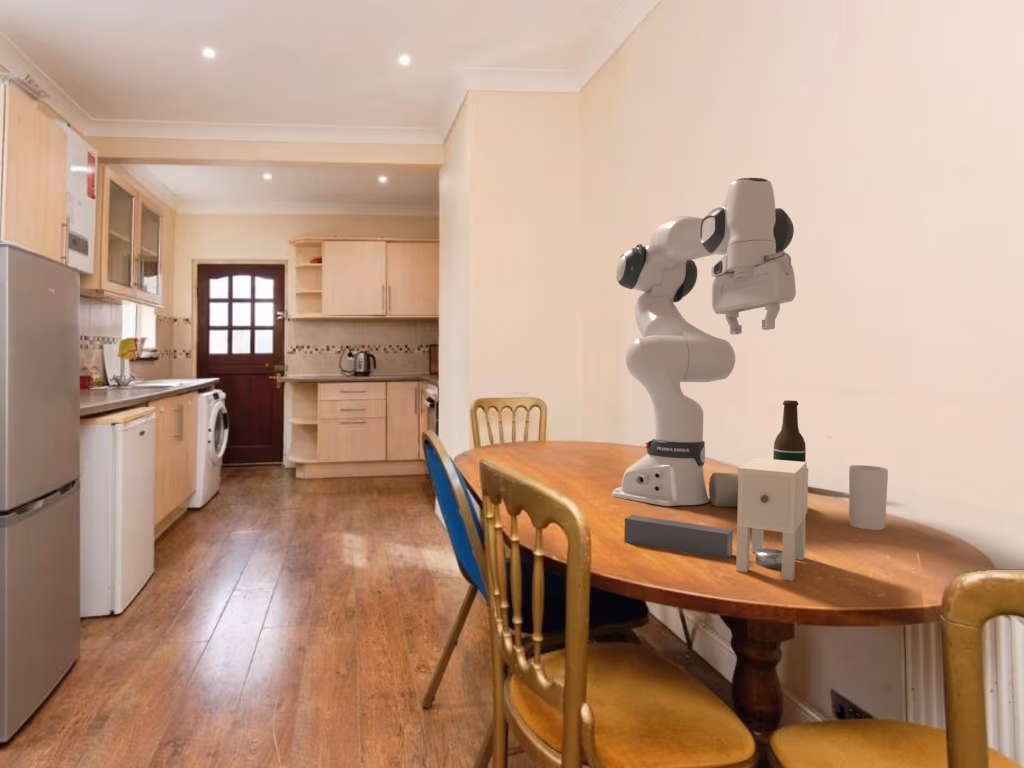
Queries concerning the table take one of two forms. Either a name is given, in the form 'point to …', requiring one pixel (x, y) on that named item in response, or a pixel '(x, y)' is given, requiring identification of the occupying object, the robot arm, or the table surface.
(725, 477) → the travel mug
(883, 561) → the table surface
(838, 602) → the table surface
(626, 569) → the table surface
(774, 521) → the cabinet
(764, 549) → the steel disc
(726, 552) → the charcoal bar
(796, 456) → the beer bottle
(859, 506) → the mug
